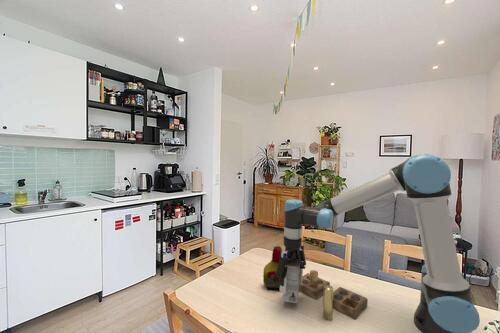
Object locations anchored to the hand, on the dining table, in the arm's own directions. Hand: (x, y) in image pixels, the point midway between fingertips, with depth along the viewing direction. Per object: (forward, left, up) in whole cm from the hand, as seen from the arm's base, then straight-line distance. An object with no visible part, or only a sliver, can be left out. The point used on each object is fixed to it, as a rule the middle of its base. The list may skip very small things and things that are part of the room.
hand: (291, 287), depth 102 cm
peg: (-15, -3, -7) cm, 17 cm away
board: (0, -16, -7) cm, 17 cm away
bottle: (+12, -4, -7) cm, 14 cm away
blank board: (-17, -16, -7) cm, 24 cm away
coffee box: (0, 0, -4) cm, 4 cm away
